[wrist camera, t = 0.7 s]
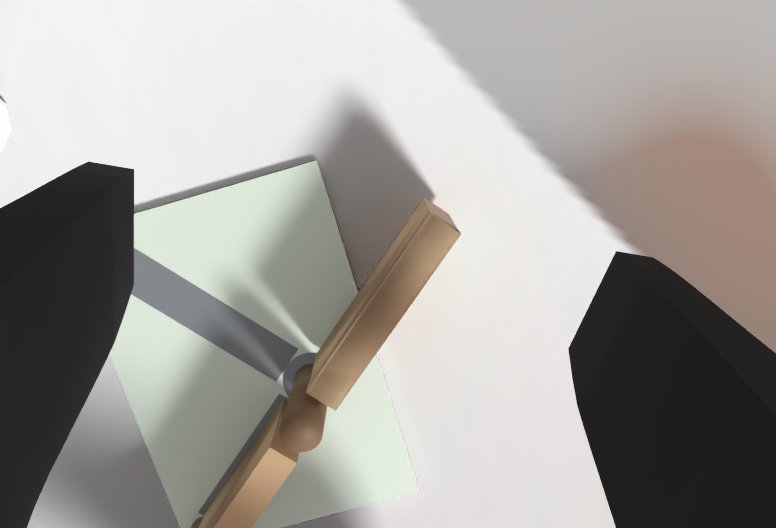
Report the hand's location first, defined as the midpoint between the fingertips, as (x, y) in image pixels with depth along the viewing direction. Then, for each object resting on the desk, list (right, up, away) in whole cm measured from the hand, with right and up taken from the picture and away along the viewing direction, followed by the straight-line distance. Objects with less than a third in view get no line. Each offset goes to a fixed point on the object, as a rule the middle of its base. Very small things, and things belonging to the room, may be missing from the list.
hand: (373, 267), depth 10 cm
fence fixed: (-6, -9, +21) cm, 23 cm away
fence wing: (0, -1, +18) cm, 18 cm away
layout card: (-6, -4, +20) cm, 21 cm away
